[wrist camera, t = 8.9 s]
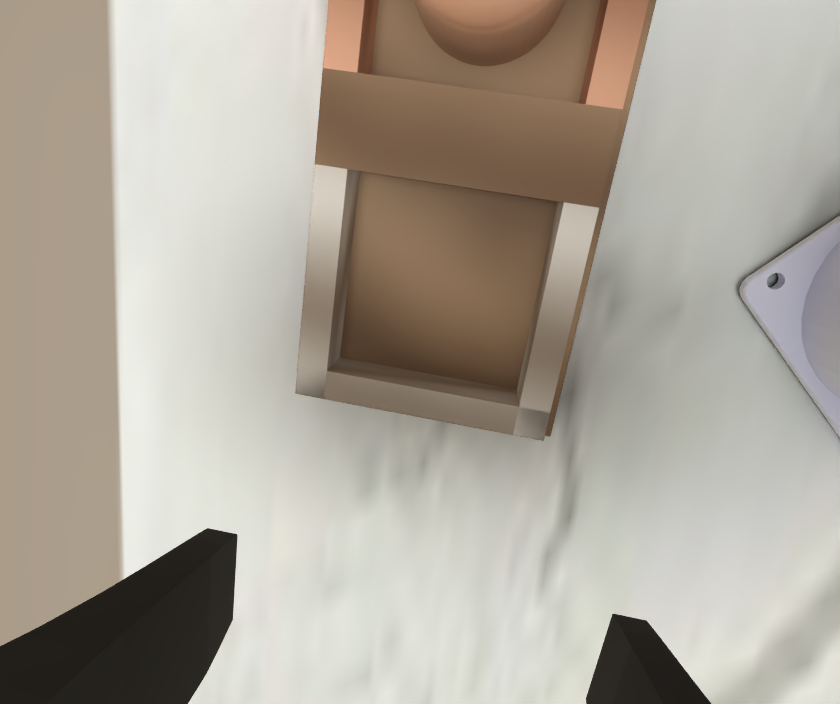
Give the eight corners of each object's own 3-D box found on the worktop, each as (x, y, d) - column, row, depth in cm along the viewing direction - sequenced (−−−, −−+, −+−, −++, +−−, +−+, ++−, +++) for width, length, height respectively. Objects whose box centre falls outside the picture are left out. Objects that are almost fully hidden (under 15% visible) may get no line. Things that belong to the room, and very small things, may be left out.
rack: (357, -221, 15) (333, -297, 13) (696, -190, 14) (735, -264, 12) (303, 381, 20) (280, 404, 18) (547, 427, 20) (555, 456, 17)
